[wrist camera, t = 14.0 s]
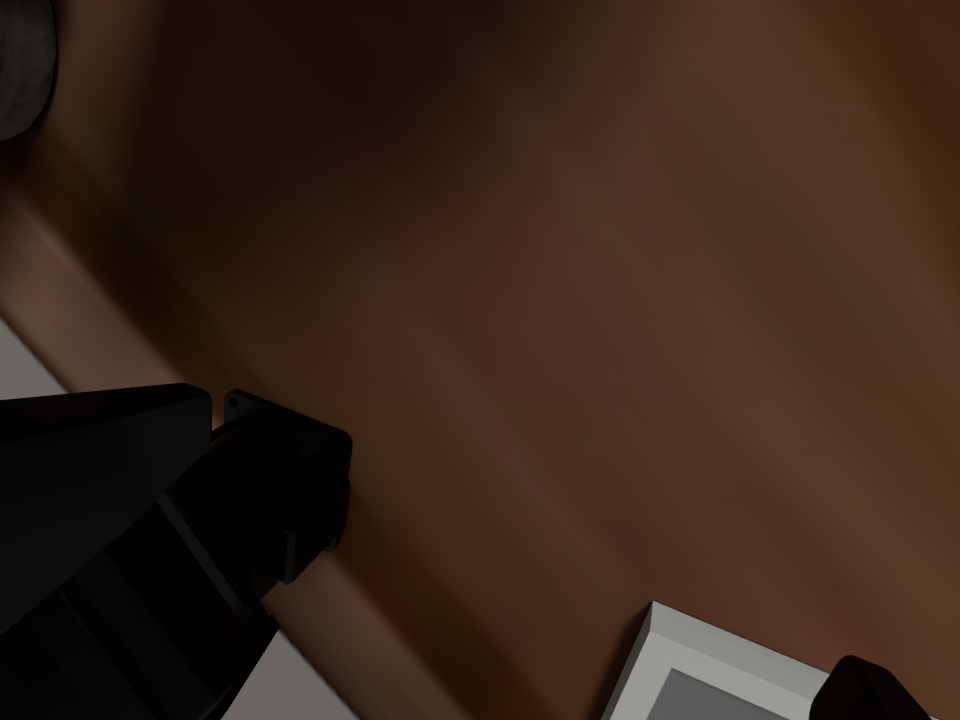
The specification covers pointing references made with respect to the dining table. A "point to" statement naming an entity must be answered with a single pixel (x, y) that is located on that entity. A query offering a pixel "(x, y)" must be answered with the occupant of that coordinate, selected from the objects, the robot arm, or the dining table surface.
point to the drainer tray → (708, 675)
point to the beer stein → (24, 62)
